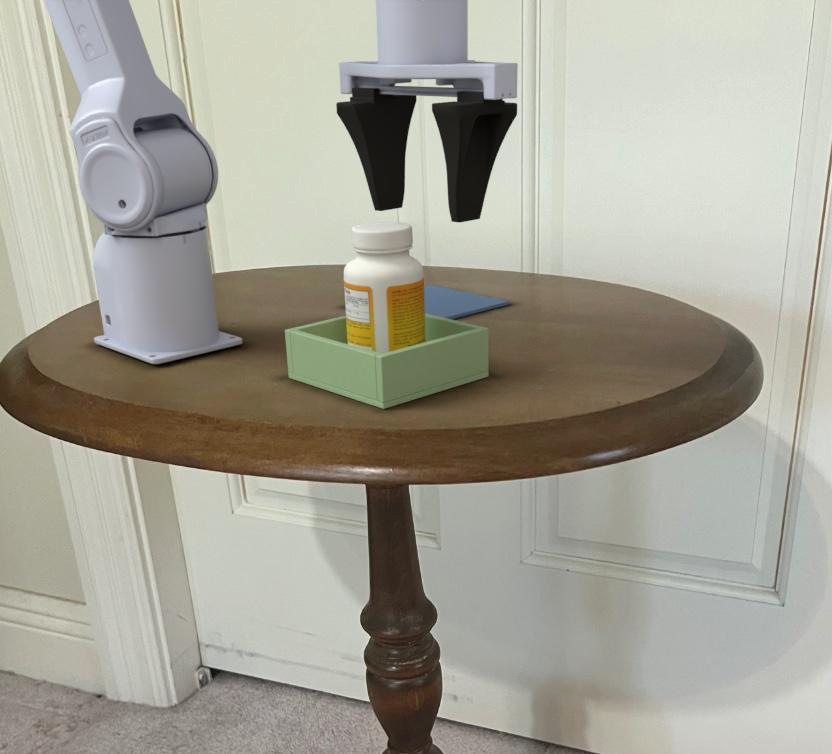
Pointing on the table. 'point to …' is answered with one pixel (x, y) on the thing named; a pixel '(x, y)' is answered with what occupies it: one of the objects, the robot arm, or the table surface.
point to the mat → (457, 302)
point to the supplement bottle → (384, 289)
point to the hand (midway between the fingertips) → (425, 214)
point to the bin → (388, 361)
